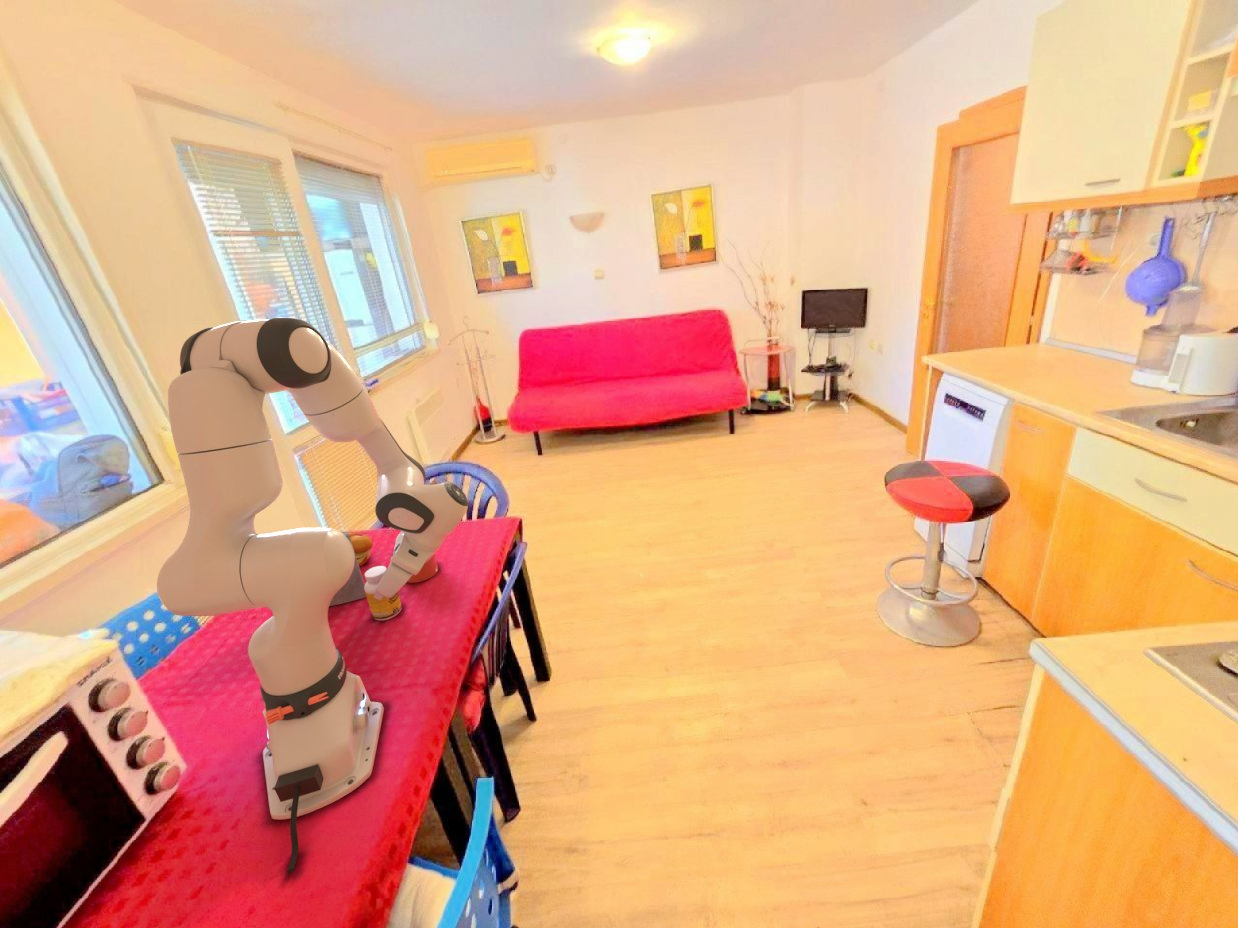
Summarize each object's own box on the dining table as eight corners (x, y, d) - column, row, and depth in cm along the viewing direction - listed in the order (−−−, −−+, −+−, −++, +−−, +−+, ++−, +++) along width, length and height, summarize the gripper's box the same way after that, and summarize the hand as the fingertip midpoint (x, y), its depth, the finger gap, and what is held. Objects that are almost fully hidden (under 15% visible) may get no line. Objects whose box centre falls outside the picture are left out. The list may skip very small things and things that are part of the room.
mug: (440, 575, 133) (433, 545, 130) (403, 586, 129) (395, 556, 126) (434, 555, 143) (427, 527, 140) (400, 566, 139) (392, 537, 136)
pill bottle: (391, 622, 116) (378, 580, 112) (367, 620, 118) (353, 578, 113) (408, 605, 122) (396, 564, 118) (384, 603, 123) (372, 562, 119)
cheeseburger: (330, 560, 145) (329, 528, 142) (371, 557, 150) (371, 525, 147) (329, 577, 136) (329, 542, 134) (373, 572, 141) (374, 539, 139)
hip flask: (368, 590, 129) (347, 521, 122) (365, 599, 125) (342, 529, 118) (301, 603, 126) (275, 533, 119) (295, 612, 123) (268, 541, 115)
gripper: (417, 514, 123) (387, 553, 126) (390, 559, 104) (355, 604, 107) (440, 528, 125) (409, 566, 128) (417, 575, 106) (382, 619, 109)
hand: (384, 584), depth 117 cm, fingers open, 8 cm apart
